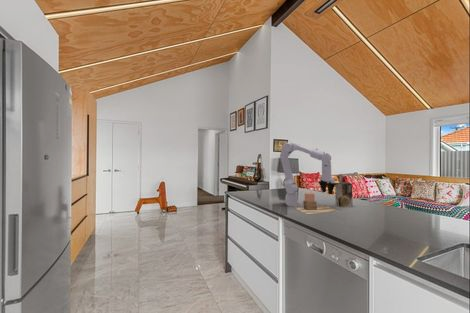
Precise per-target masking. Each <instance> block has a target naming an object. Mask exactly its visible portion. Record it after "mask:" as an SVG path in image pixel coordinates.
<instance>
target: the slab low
mask: <svg viewBox="0 0 470 313" xmlns="http://www.w3.org/2000/svg"><path fill="white" fill-rule="evenodd" d="M317 206H318V205H316V206H306V205H304V204H303V207H304V209H306V210H317Z"/></svg>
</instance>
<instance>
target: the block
mask: <svg viewBox="0 0 470 313" xmlns="http://www.w3.org/2000/svg"><path fill="white" fill-rule="evenodd" d="M304 200H305V201H307V202H315V201H316V200H315V193H314V192H305V193H304Z"/></svg>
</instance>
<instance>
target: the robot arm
mask: <svg viewBox="0 0 470 313" xmlns="http://www.w3.org/2000/svg"><path fill="white" fill-rule="evenodd" d="M294 151H299V152H303V153H305V154H308V155H309V156H310V158H313V159H315V160H318V161H321V177H319V181H318V184H319V186H320V189H321V192H322V193H326V192H327V193H328V194H327V195H332V194H333V192H334V190H335V185H336V183H337V182H335V179H334V178H332V161H331V160H332V156H331V155H330V153H328V152H327V153H326V152H325V151H321V150H319V149H318V148H312V149H310V148H308V147H306V146H304V145H303V146H302V145H300V144H296V143H293V142H285V143H283V145H282V146H281V152H280V156H279V158H280V161H281V165H282V170H283V172H284V177H285V192H286V194H285V198H284V199H285V203H284V204H285V206H288V207H297V206H298V207H299V203H298V202H299V201H298V200H299V198H298V196H299V194H298V190H299V187H298V186H299V185H298V184H297V182H296V180H295V179H294V175H293V171H292V168H291V164H290V161H289V160H290V159H289V156H290V155H291V154H292V153H293V152H294Z"/></svg>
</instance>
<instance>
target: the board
mask: <svg viewBox="0 0 470 313" xmlns="http://www.w3.org/2000/svg"><path fill="white" fill-rule="evenodd" d="M316 206H317V210H306V209H304V206H298V207H297V206H293V208H294V209H295V210H298V211H300V212H302V213H304V214H306V215H308V214H309V215H312V214H325V213H336V212H337V213H338V212H340V210H339V209H335V208H333V207H330V206H327V205H316Z"/></svg>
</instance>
